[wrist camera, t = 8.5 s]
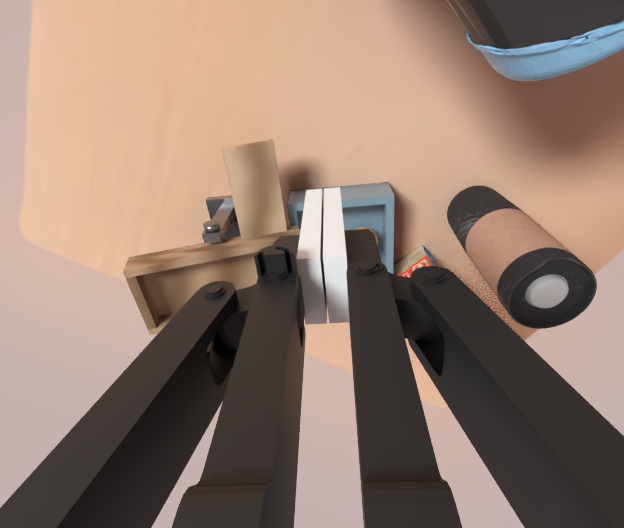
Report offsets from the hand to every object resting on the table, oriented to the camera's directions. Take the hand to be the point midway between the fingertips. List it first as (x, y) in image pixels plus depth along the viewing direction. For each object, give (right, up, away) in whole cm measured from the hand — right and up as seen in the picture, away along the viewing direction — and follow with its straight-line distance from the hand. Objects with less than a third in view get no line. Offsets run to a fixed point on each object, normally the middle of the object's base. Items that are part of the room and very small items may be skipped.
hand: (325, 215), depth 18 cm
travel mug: (+21, +5, +32) cm, 39 cm away
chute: (-13, +2, +28) cm, 31 cm away
